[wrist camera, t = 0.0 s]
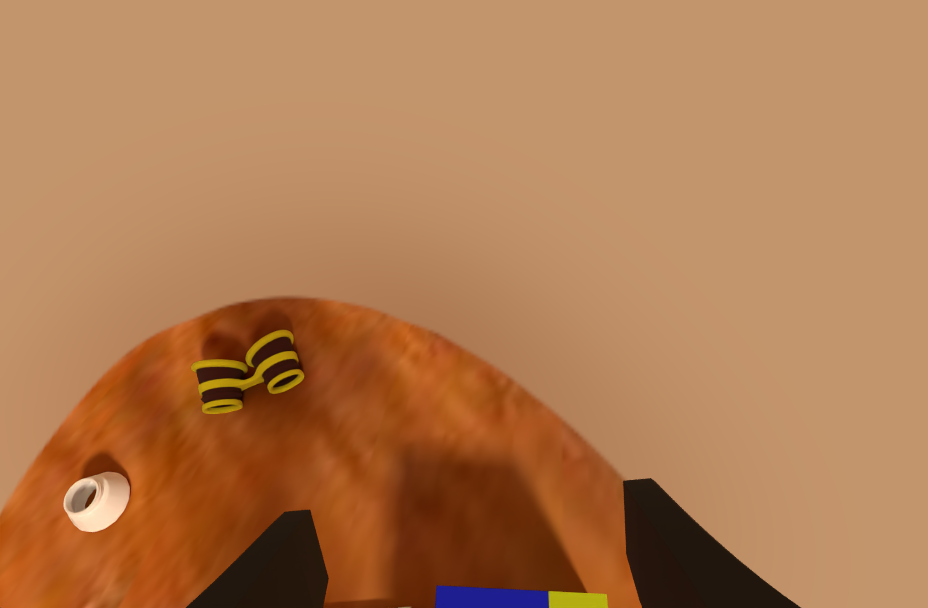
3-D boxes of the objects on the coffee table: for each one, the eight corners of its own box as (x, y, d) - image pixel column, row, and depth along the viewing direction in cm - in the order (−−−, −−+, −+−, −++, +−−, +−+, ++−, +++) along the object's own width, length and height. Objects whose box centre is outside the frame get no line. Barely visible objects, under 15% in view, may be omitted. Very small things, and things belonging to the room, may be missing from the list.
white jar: (141, 476, 48) (94, 471, 48) (119, 469, 45) (70, 463, 46) (117, 535, 45) (67, 528, 46) (92, 531, 42) (40, 524, 43)
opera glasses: (218, 422, 50) (190, 415, 46) (207, 373, 52) (179, 361, 47) (313, 384, 51) (296, 373, 46) (299, 337, 53) (281, 322, 48)
